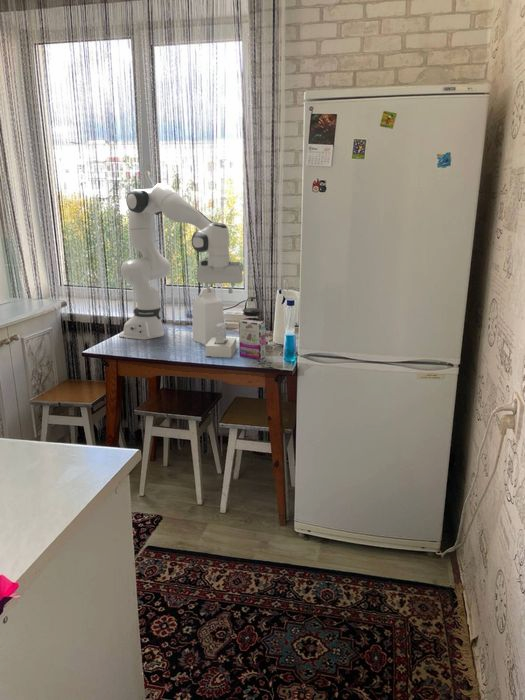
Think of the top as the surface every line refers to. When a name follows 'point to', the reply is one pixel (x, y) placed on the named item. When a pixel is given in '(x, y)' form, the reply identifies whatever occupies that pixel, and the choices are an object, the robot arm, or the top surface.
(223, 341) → the block
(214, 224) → the robot arm
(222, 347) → the slotted post base
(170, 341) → the top surface
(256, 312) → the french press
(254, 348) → the candy bar box
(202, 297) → the milk
